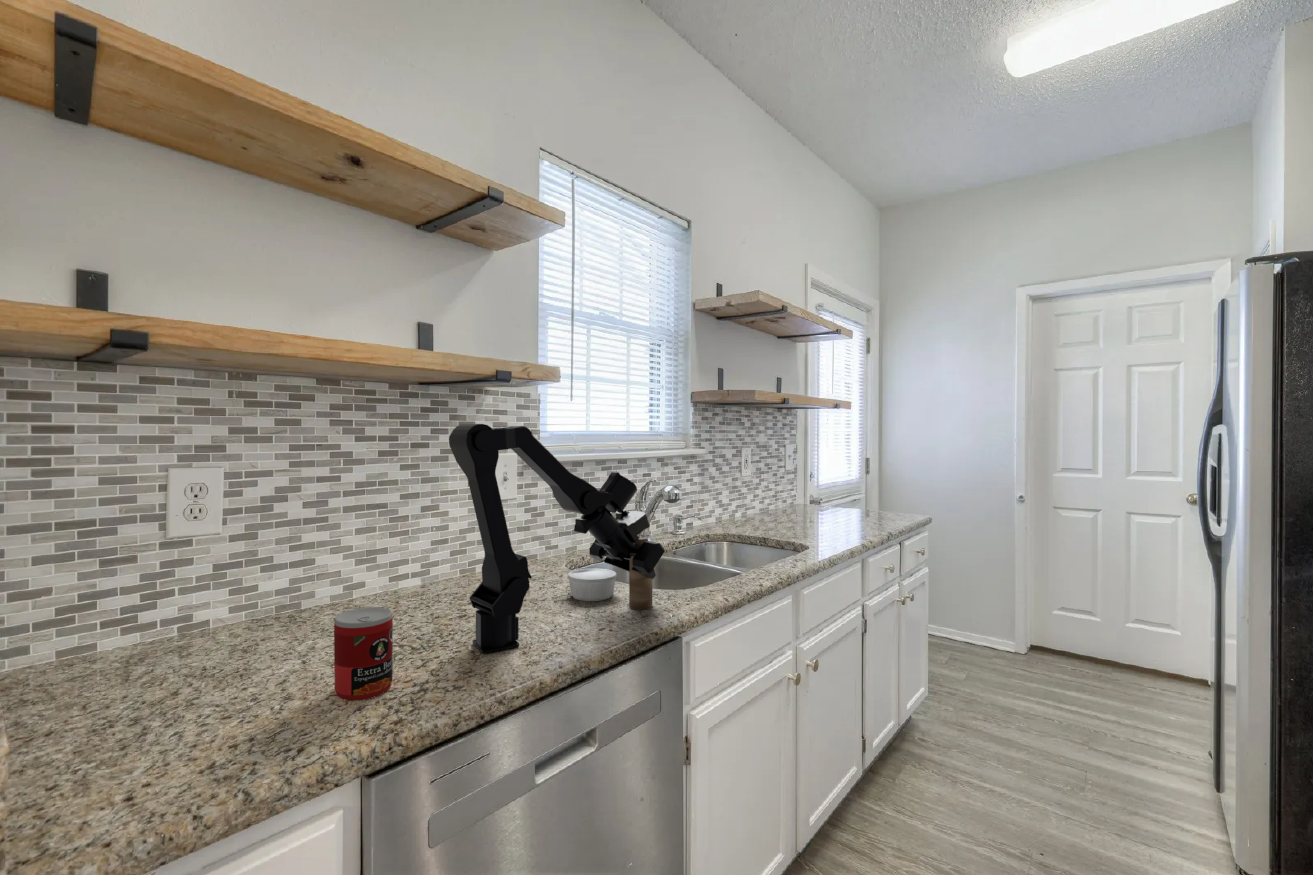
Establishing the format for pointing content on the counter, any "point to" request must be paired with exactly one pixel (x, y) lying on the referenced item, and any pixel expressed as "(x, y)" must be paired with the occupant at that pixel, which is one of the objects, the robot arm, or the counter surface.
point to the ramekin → (592, 584)
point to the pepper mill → (639, 586)
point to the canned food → (363, 653)
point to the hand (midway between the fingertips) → (645, 574)
